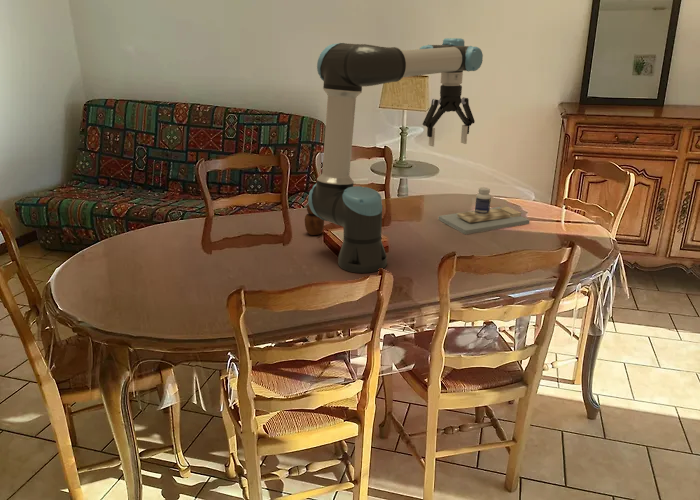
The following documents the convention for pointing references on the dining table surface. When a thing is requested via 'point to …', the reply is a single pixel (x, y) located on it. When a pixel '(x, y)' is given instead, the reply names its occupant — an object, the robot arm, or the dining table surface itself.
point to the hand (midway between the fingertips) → (447, 144)
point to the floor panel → (484, 222)
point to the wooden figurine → (313, 223)
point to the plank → (476, 218)
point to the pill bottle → (483, 202)
